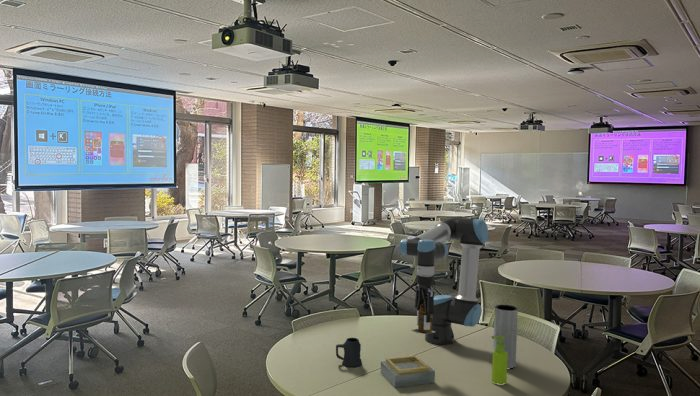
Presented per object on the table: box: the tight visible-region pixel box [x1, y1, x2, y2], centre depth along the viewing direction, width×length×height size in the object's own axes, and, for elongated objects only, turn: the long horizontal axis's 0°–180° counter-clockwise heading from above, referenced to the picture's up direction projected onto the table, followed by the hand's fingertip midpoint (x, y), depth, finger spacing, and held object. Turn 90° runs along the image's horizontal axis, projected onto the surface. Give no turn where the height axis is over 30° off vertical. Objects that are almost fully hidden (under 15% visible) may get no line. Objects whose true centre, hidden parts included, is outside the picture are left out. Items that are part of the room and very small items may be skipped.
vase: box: [492, 304, 519, 368], centre depth 241 cm, size 10×10×27 cm
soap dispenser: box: [490, 335, 508, 384], centre depth 221 cm, size 6×7×20 cm
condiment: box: [410, 303, 435, 336], centre depth 232 cm, size 7×8×12 cm
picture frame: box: [380, 355, 436, 389], centre depth 227 cm, size 18×19×6 cm
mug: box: [335, 337, 363, 368], centre depth 240 cm, size 12×9×11 cm
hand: (423, 327), depth 232 cm, fingers closed on condiment, 6 cm apart
